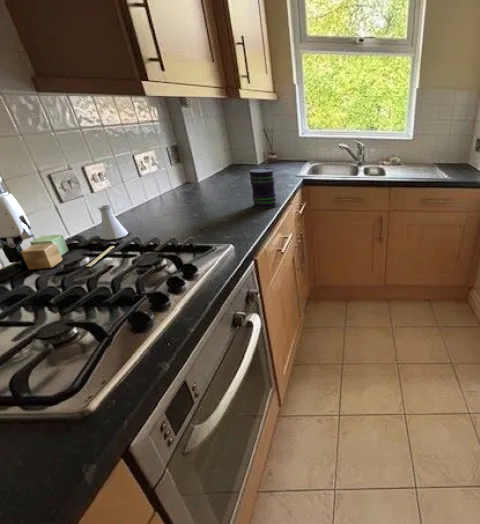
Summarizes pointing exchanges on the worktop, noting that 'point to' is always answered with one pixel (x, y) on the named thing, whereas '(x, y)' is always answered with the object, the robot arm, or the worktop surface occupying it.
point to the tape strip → (100, 256)
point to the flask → (110, 224)
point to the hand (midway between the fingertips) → (18, 260)
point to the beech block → (41, 256)
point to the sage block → (52, 239)
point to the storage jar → (263, 187)
